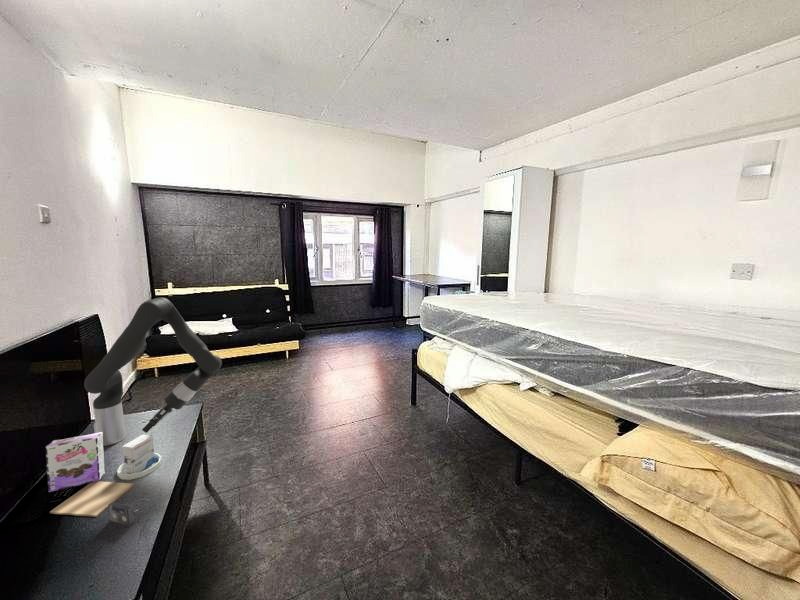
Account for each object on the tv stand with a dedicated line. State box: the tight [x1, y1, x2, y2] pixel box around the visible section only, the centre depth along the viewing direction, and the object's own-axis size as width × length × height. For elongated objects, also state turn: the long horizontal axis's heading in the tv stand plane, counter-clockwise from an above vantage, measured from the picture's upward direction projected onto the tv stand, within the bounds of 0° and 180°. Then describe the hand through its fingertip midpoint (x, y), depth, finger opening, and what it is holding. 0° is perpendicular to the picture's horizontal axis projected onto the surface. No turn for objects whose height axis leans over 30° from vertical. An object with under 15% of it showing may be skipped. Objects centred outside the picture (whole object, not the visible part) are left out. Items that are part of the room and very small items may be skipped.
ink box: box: [121, 433, 156, 474], centre depth 124 cm, size 9×5×12 cm, turn 168°
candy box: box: [45, 432, 106, 493], centre depth 115 cm, size 14×6×16 cm, turn 117°
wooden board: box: [49, 480, 136, 518], centre depth 109 cm, size 16×14×1 cm
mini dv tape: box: [108, 501, 136, 527], centre depth 100 cm, size 8×2×6 cm, turn 76°
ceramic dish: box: [116, 452, 163, 481], centre depth 125 cm, size 13×13×2 cm
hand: (148, 428), depth 127 cm, fingers open, 8 cm apart
